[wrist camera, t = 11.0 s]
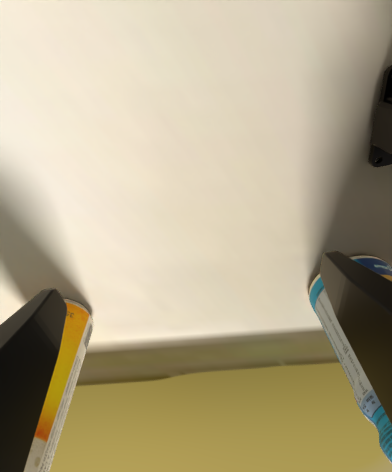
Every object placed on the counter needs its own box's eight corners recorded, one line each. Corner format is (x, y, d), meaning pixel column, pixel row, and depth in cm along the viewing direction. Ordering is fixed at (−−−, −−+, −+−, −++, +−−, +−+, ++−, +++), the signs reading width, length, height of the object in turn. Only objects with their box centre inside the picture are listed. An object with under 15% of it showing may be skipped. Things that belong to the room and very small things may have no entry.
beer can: (26, 294, 27) (-102, 504, 15) (90, 294, 28) (16, 499, 15) (43, 333, 31) (-49, 529, 18) (99, 332, 31) (46, 524, 19)
